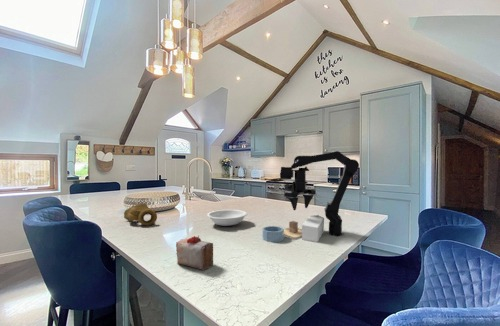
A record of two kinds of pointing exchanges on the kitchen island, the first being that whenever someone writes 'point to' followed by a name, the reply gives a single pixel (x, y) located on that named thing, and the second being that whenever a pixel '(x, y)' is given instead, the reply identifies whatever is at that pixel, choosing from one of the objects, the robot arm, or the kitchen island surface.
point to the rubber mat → (292, 238)
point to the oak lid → (293, 230)
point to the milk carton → (313, 228)
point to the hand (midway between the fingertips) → (300, 209)
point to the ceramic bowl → (273, 234)
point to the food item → (194, 253)
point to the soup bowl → (227, 217)
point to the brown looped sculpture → (140, 214)
